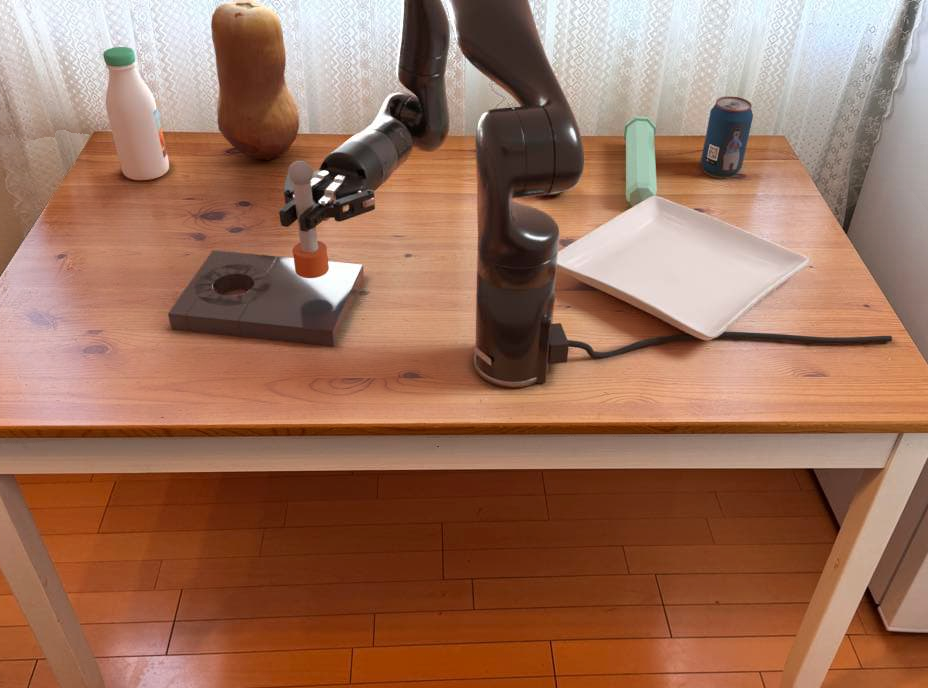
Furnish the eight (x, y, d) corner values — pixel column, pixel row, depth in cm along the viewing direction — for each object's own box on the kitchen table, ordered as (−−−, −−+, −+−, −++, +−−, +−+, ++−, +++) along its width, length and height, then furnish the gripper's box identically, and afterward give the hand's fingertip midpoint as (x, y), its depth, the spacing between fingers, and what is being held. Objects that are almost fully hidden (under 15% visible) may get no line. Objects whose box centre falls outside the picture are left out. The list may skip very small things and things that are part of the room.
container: (655, 178, 141) (651, 111, 159) (618, 189, 143) (618, 121, 161) (664, 211, 144) (660, 141, 163) (628, 220, 146) (627, 150, 165)
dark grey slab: (364, 279, 129) (363, 264, 128) (334, 346, 117) (332, 330, 116) (215, 264, 131) (212, 249, 130) (171, 329, 119) (167, 313, 118)
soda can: (715, 158, 161) (728, 91, 153) (748, 171, 157) (764, 104, 149) (691, 169, 157) (703, 102, 149) (724, 184, 153) (739, 115, 145)
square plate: (708, 361, 116) (714, 336, 114) (543, 279, 130) (544, 256, 127) (808, 277, 131) (815, 254, 129) (650, 212, 145) (654, 190, 143)
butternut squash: (314, 142, 163) (299, -5, 146) (285, 175, 153) (266, 21, 137) (242, 133, 165) (219, -13, 149) (209, 165, 155) (181, 13, 139)
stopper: (332, 262, 122) (321, 155, 112) (323, 280, 119) (311, 171, 109) (301, 259, 123) (287, 152, 113) (291, 276, 119) (276, 168, 109)
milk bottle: (163, 182, 150) (135, 60, 137) (116, 181, 150) (84, 59, 137) (175, 161, 156) (150, 42, 143) (130, 160, 156) (101, 41, 143)
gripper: (314, 131, 125) (241, 183, 113) (404, 149, 121) (338, 206, 109) (319, 181, 130) (249, 237, 117) (406, 201, 126) (343, 261, 113)
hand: (292, 222), depth 113 cm, fingers closed on stopper, 2 cm apart
